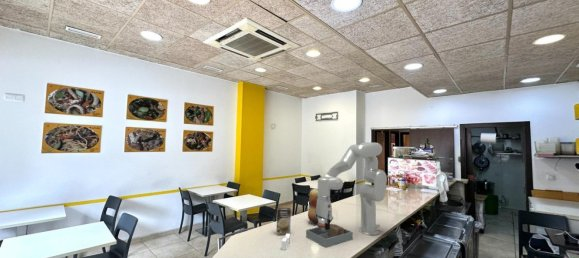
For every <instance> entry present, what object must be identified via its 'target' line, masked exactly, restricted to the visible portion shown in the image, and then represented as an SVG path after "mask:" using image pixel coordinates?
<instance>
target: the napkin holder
mask: <svg viewBox="0 0 579 258" xmlns="http://www.w3.org/2000/svg"><path fill="white" fill-rule="evenodd" d="M284 236H285V237H283V238H282V240H281V251H286V250H287V248H290V244H291V233H290V234H286V235H284Z"/></svg>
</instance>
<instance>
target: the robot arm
mask: <svg viewBox="0 0 579 258" xmlns="http://www.w3.org/2000/svg"><path fill="white" fill-rule="evenodd" d="M382 151H383V147H382V145H381V144H380V143H378V142H361V143H360V144H351V145H350V146H349V147H347V150H346V151H345V153H344V154H343V156H342V157H341V159H340V160H339V161H338V162H336V163H335V164H334V165H333V166H331V167H330V168H329V170H328V171H327V172H326V174H325V175H324V177H322V176H321V177H319V178H317V189H318V199H317V205H316V211H315V214H316V217H317V224H316V225H317V226H316V227H318V217H323V218H325V221H326V223H325V230H329V229H330V224H332V223H331V222H333V220H334V216H333V209H332V208H333V207H332V201H331V190H334V191H335V190H336V191H339V190H340V189H342V188H343V185H344V182H343V180H342V178H340V177H338V176H339V175H340V174H342V173H344V172H348V171H349V170H352V168H353V166H354V165H355V163H356V162H357V160H358V159H359V158H360V159H364V169H363V180H364V182H367V183H364V184H362V185H360V187H359V190H358V193H359V198H360V227H359V228H358V232H360V233H361V234H364V235H368V236H377V235H378V234H379V230H378V228H380V227H381V225H380V224H377V216H376V215H377V211H376V210H377V205H376V202H378V203H379V202H382V201H383V200H384V199H385V196H386V191H387V182H388V181H387V180H388V179H387V178H388V177H387V174H386V172H385V171H384V170H383V169H379V160H378V157H377V156H379V155H381V153H382ZM368 183H372V184H368ZM327 219H328V221H327Z"/></svg>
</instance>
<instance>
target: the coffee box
mask: <svg viewBox="0 0 579 258" xmlns="http://www.w3.org/2000/svg"><path fill="white" fill-rule="evenodd" d="M291 215H292V212H291V207H277V209H276V236H286V234H290V235H291V221H292V219H291Z"/></svg>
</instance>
